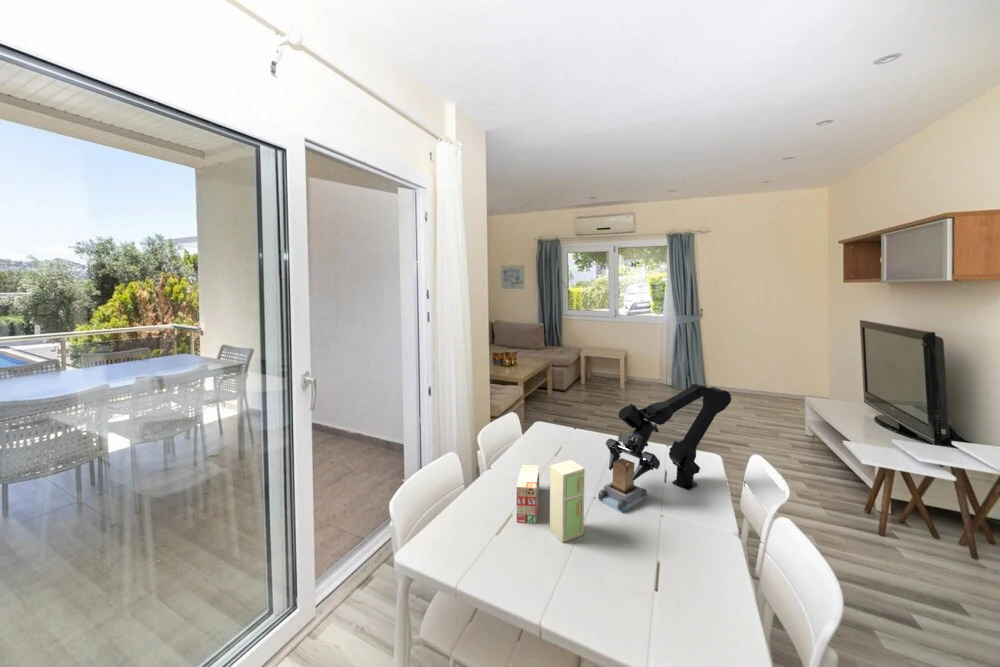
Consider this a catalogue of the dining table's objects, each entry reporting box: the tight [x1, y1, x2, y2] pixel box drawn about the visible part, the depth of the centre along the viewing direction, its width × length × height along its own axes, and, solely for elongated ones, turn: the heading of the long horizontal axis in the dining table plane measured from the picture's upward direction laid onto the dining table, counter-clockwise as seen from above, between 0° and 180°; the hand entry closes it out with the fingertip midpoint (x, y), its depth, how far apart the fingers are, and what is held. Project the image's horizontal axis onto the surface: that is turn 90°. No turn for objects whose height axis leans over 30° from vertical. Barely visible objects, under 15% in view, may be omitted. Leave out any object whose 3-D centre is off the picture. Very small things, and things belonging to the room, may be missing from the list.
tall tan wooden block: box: [612, 457, 635, 495], centre depth 133 cm, size 5×5×12 cm
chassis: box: [597, 481, 648, 513], centre depth 134 cm, size 15×9×4 cm, turn 127°
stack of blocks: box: [516, 464, 540, 525], centre depth 131 cm, size 21×6×12 cm, turn 171°
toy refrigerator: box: [549, 459, 586, 543], centre depth 114 cm, size 8×7×21 cm
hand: (620, 474), depth 132 cm, fingers open, 9 cm apart
